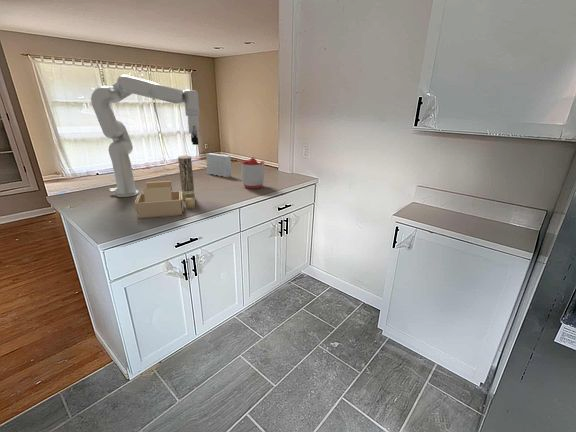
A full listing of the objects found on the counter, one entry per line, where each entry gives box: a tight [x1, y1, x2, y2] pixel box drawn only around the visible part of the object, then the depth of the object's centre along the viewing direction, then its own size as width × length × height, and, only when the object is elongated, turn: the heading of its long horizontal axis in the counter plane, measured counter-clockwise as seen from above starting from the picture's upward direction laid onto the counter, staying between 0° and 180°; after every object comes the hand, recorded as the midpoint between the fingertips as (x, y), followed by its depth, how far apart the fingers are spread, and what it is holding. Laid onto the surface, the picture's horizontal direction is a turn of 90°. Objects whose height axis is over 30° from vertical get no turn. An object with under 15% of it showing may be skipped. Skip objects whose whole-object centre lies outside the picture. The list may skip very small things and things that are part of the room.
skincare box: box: [205, 152, 232, 178], centre depth 226 cm, size 21×5×16 cm, turn 58°
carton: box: [134, 190, 184, 220], centre depth 152 cm, size 22×16×8 cm
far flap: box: [145, 180, 173, 192], centre depth 155 cm, size 12×1×6 cm, turn 109°
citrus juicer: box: [240, 157, 265, 190], centre depth 198 cm, size 16×17×20 cm
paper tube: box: [177, 155, 196, 201], centre depth 168 cm, size 7×7×25 cm
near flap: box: [143, 187, 172, 202], centre depth 143 cm, size 12×1×6 cm, turn 109°
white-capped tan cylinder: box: [184, 197, 196, 210], centre depth 159 cm, size 5×5×5 cm
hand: (194, 143), depth 175 cm, fingers open, 9 cm apart
